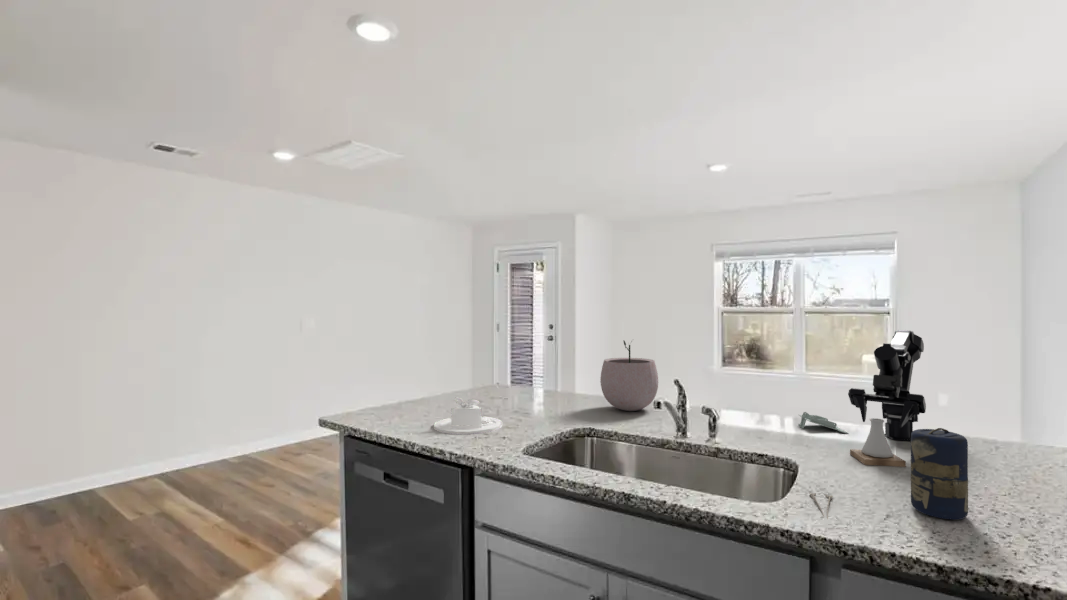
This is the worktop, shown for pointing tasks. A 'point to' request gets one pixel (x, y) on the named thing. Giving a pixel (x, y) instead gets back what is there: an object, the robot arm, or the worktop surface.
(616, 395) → the plant pot
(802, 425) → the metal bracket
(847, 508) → the worktop surface
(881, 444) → the flask
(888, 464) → the walnut board
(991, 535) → the worktop surface
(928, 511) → the canister
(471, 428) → the dish
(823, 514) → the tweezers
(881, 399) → the robot arm
